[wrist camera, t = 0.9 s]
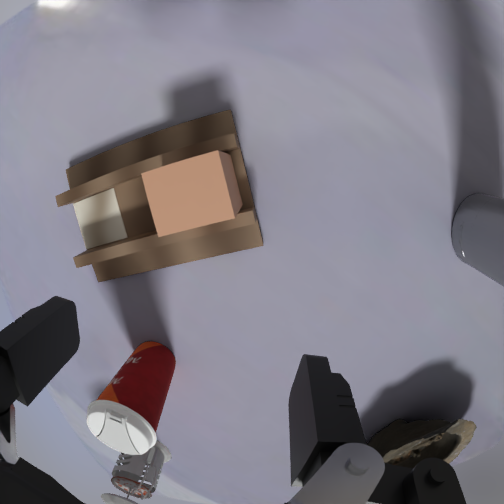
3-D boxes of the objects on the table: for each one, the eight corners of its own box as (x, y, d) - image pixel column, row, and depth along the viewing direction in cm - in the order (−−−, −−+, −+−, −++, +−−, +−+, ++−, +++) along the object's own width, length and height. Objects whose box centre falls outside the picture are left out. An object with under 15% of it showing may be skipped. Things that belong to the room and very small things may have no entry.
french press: (113, 442, 43) (67, 542, 19) (139, 422, 40) (88, 545, 16) (155, 468, 44) (124, 568, 20) (187, 451, 42) (157, 573, 18)
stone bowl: (339, 422, 38) (356, 467, 29) (470, 370, 37) (498, 399, 28) (340, 489, 44) (349, 522, 35) (443, 449, 44) (460, 475, 35)
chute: (231, 111, 27) (226, 102, 23) (263, 243, 31) (263, 254, 27) (69, 169, 29) (49, 171, 25) (101, 279, 33) (85, 292, 29)
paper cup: (130, 326, 35) (78, 397, 21) (187, 344, 35) (155, 427, 21) (128, 370, 37) (86, 440, 23) (179, 387, 37) (152, 466, 24)
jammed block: (230, 154, 28) (218, 150, 20) (242, 204, 29) (235, 218, 21) (172, 171, 28) (141, 173, 20) (184, 218, 29) (158, 237, 22)
